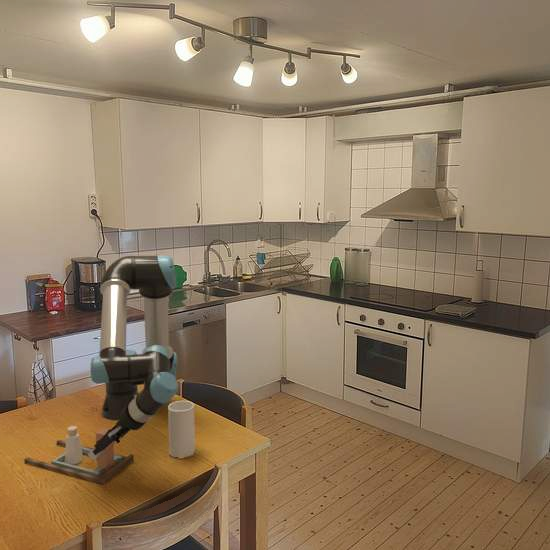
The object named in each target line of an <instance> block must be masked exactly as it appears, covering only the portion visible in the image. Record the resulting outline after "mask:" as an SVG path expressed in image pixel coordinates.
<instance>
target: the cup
mask: <svg viewBox="0 0 550 550" xmlns="http://www.w3.org/2000/svg"><path fill="white" fill-rule="evenodd" d="M167 412H168V448H169V449H168V453H170V454H169V455H171V456H170V457H172V456H173V457H172V458H174V457H187V456H190V455H192V454H193V453H194V452H196V444H195V443H196V440H195V437H196V436H195V435H196V433H195V432H196V431H195V404H194V403H193V402H192V401H190V400H176V401H173V402H171V403H169V405H168V406H167ZM194 454H195V453H194ZM194 454H193V455H194ZM193 455H192V456H193ZM190 457H191V456H190ZM187 458H188V457H187Z"/></svg>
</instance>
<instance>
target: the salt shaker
mask: <svg viewBox="0 0 550 550" xmlns="http://www.w3.org/2000/svg"><path fill="white" fill-rule="evenodd" d="M65 441H66V447H65V451H64V453H65V460H64V463H67V464H71V465H74V466H75V465H78V464H79V463H82V461H83V459H84V455H83V454H84V453H82V449H81V445H82V444H81V437H80V434H79V433H78V427H77V426H75V425H74V426H73V425H71V426H69V427H67V435H66V437H65Z"/></svg>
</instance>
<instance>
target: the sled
mask: <svg viewBox="0 0 550 550" xmlns="http://www.w3.org/2000/svg"><path fill="white" fill-rule="evenodd" d="M110 429H111V428H105V427H103V428H101V429H99V430H97V432H95V443H96V442H97V441H98V440H100V439H101V438H102V437H103V436H104V435H105V434H106V433H107V431H108V430H110ZM114 445H115V444H114V443H113V442H112V443H111V444H110V445H109V446H107V447H106V448H105V450H104V451H103V452H102V453H101V454H100V455H99V456H98V457H97V458H96V466H97V467H95V468H94V469H88V468H85V467H81V466H78V465H75V464H74V465H71V464H67V463H65V462H64V461H65V452H64V453H62V454H61V455H59V456H57V457H55V458H54V459H53V460H50V461H51V462H50V464H53V465H57V466H60V467H64V468H68V469H71V470H75V471H79V472H82V473H86V474H90V475H93V476H97V477H99V476H100V475H102V474H103V473H105V472H106V471H107V470H109V469H110V468H112V467H113V466H114V465H116V464H117V463H119V462H120V461H121V460H122V457H120V456H116V455H114V454H115V448H114V447H115V446H114ZM81 449H82V454H85V455H88V453H89V452H90V451H91V450H92V449H88V448H84V447H81Z"/></svg>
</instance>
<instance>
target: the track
mask: <svg viewBox="0 0 550 550" xmlns="http://www.w3.org/2000/svg"><path fill="white" fill-rule="evenodd" d="M56 445H57V446H60V447H63V448H66V440H61V439H58V440H56ZM81 447H84V448H88V449H93V448H94V447H89V446H86V445H82V444H81ZM114 455H116V456H120V457H122V460H121V461H120V462H118V463H117V464H115V465H114V466H113V467H112V468H110V469H109V470H107V471H106V472H104V473H103V474H101V475H100V476H99V477H97V476H93V475H90V474H86V473H82V472H79V471H75V470H71V469H68V468H64V467H60V466H57V465H53V464H51V462H50V463H49V462H45V461H41V460H38V459H34V458H31V457H25V458H24V463H25V464H28V465H30V464H31V465H32V466H34V467H38V468H40V469H41V468H42V469H46V470H49V471H52V472H55V473H58V474H63V475H67V476H70V477H73V478H77V479H81V480H84V481H88V482H91V483H95V484H98V485H102V486H103V485H105V484H106V483H108V482H109V481H110V480H112V479H113V478H114V477H116V476H118V474H120V473H121V472H123V471H124V470H126V468H128V467H129V466H130V465H132V464H133V463H134V462H135V454H132V453H130V454H129V455H127V456H126V455H122V454H118V453H114Z"/></svg>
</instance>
